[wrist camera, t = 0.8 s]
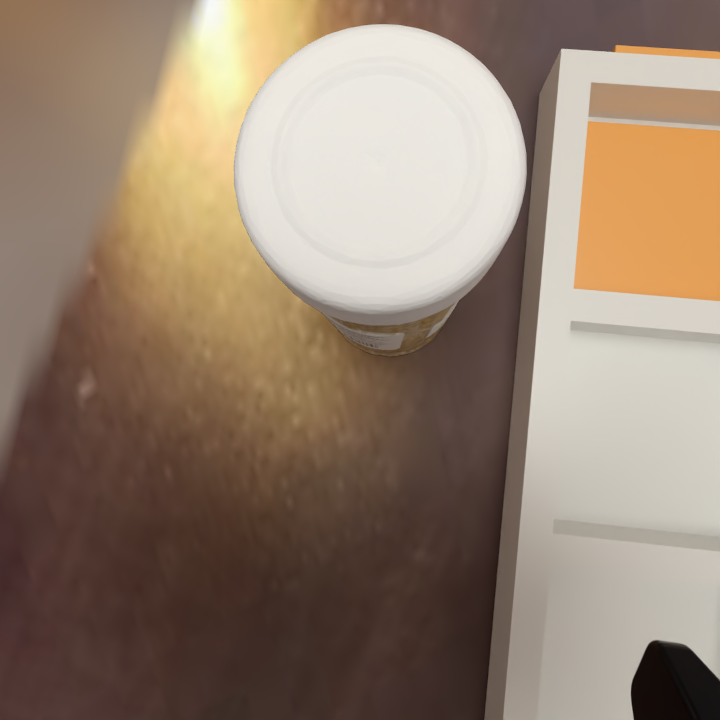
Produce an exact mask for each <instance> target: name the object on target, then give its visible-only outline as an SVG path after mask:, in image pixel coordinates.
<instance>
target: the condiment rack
mask: <svg viewBox="0 0 720 720" xmlns="http://www.w3.org/2000/svg"><path fill="white" fill-rule="evenodd" d="M653 640H662V641H669V642H676V643H681V644H684V645H686V646H688V647H689V648H690V649H691V650H692V651H694V653H695V654H696V655H697V656H698V657H699V658H700V659H701V660H702V661H703V662H704V663H705V665H706V666H707V667H708V668H709V669H710V670H711V671H712V672H713V673H714V674H715V675H716V676H717V678H718V679H719V680H720V52H713V51H698V50H682V49H667V48H651V47H635V46H620V45H616V46H615V47H614V49H613V51H612V52H602V51H586V50H571V49H561V51H560V53H559V55H558V57H557V59H556V61H555V63H554V65H553V67H552V69H551V71H550V73H549V75H548V77H547V79H546V81H545V83H544V85H543V87H542V89H541V92H540V94H539V105H538V117H537V128H536V139H535V151H534V162H533V173H532V185H531V196H530V207H529V219H528V230H527V241H526V253H525V264H524V275H523V287H522V298H521V309H520V321H519V332H518V343H517V355H516V366H515V377H514V389H513V400H512V411H511V423H510V434H509V445H508V457H507V468H506V479H505V491H504V502H503V513H502V525H501V536H500V547H499V559H498V570H497V581H496V593H495V604H494V615H493V627H492V638H491V649H490V661H489V672H488V683H487V695H486V706H485V717H484V720H634V718H633V711H632V704H631V684H632V680H633V677H634V675H635V673H636V670H637V668H638V666H639V663H640V661H641V659H642V657H643V654H644V652H645V650H646V647H647V646H648V644H649V643H650V642H651V641H653Z"/></svg>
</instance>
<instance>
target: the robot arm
mask: <svg viewBox="0 0 720 720" xmlns="http://www.w3.org/2000/svg"><path fill="white" fill-rule="evenodd" d="M631 704H632V711H633V718H634V720H720V680H719V679H718V678H717V676H716V675H715V674H714V673H713V672H712V671H711V670H710V669H709V668H708V667H707V666H706V665H705V663H704V662H703V661H702V660H701V659H700V658H699V657H698V656H697V655H696V654H695V653H694V651H692V650H691V649H690V648H689V647H688V646H686V645H684V644H681V643H676V642H669V641H662V640H653V641H651V642H650V643H649V644H648V646H647V647H646V650H645V652H644V654H643V657H642V659H641V661H640V663H639V666H638V668H637V670H636V673H635V675H634V677H633V680H632V684H631Z"/></svg>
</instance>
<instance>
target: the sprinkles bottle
mask: <svg viewBox="0 0 720 720" xmlns="http://www.w3.org/2000/svg"><path fill="white" fill-rule="evenodd" d="M526 174H527V169H526V149H525V143H524V139H523V134H522V130H521V126H520V122H519V120H518V117H517V114H516V111H515V109H514V108H513V105H512V103H511V100H510V99H509V97H508V96H507V94H506V93H505V91H504V90H503V88H502V87H501V85H500V84H499V82H498V81H497V79H496V78H495V77H494V76H493V75H492V74H491V72H490V71H489V70H488V69H487V68H486V67H485V66H484V65H483V64H482V63H481V62H480V61H479V60H478V59H476V58H475V57H474V56H473V55H472V54H470V53H469V52H467V51H466V50H464V49H463V48H461V47H460V46H458V45H456V44H455V43H453V42H451V41H450V40H448V39H445V38H443V37H441V36H439V35H437V34H434V33H431V32H428V31H425V30H421V29H417V28H412V27H407V26H401V25H388V24H379V25H365V26H359V27H353V28H348V29H344V30H341V31H338V32H334V33H331V34H328V35H326V36H324V37H322V38H320V39H318V40H316V41H314V42H312V43H310V44H308V45H306V46H305V47H303V48H302V49H300V50H299V51H297V52H296V53H294V54H293V55H292V56H290V57H289V58H288V59H287V60H286V61H285V62H283V63H282V64H281V65H280V66H279V67H278V68H277V69H276V70H275V71H274V72H273V73H272V74H271V75H270V77H269V78H268V79H267V80H266V81H265V83H264V84H263V85H262V87H261V88H260V90H259V91H258V93H257V94H256V96H255V98H254V99H253V101H252V102H251V104H250V106H249V108H248V110H247V113H246V116H245V119H244V121H243V123H242V125H241V129H240V133H239V137H238V141H237V145H236V152H235V160H234V187H235V192H236V197H237V203H238V208H239V212H240V215H241V218H242V222H243V224H244V226H245V228H246V230H247V232H248V235H249V237H250V239H251V241H252V243H253V244H254V246H255V247H256V249H257V251H258V252H259V254H260V255H261V256H262V258H263V259H264V261H265V262H266V263H267V265H268V266H269V267H270V268H271V270H272V271H273V272H274V273H275V274H276V275H277V277H278V278H279V279H280V280H281V281H282V282H283V283H284V284H285V285H286V286H287V287H288V288H289V289H290V290H291V291H292V292H293V293H294V294H295V295H297V296H298V297H299V298H301V299H302V300H303V301H304V302H306V303H307V304H309V305H311V306H312V307H314V308H315V309H317V310H319V311H321V312H322V313H323V314H324V315H325V316H326V317H327V318H328V319H329V320H330V322H331V323H332V324H333V325H334V326H335V327H336V328H337V329H338V331H339V332H340V333H341V334H342V335H343V336H344V337H345V339H346V340H347V341H348V342H350V343H351V344H352V345H354V346H355V347H357V348H360V349H361V350H363V351H365V352H368V353H370V354H374V355H384V356H388V357H392V356H398V355H405V354H409V353H412V352H414V351H417V350H419V349H420V348H422V347H423V346H424V345H426V344H427V343H429V342H430V341H432V340H433V339H434V338H435V336H436V334H437V333H438V332H439V331H440V330H441V328H442V327H443V326H444V325H445V323H446V321H447V319H448V317H449V316H450V314H451V313H452V311H453V310H454V308H455V306H456V305H457V303H458V301H459V300H460V299H461V298H462V297H463V296H465V295H466V294H467V293H468V292H469V291H470V290H471V289H472V288H473V287H474V286H476V285H477V284H478V282H479V281H480V280H481V279H482V278H483V277H484V275H485V274H486V273H487V271H488V270H489V269H490V267H491V266H492V265H493V263H494V261H495V260H496V258H497V257H498V255H499V253H500V252H501V250H502V248H503V247H504V245H505V243H506V241H507V240H508V238H509V236H510V234H511V232H512V230H513V228H514V225H515V223H516V220H517V218H518V214H519V211H520V208H521V205H522V201H523V196H524V191H525V186H526Z"/></svg>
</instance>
